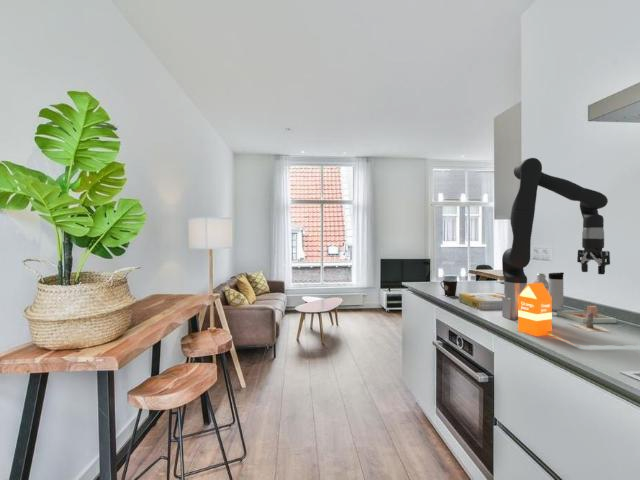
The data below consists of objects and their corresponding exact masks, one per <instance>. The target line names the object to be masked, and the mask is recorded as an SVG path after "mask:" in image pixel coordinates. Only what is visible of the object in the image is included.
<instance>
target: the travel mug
mask: <svg viewBox="0 0 640 480" xmlns="http://www.w3.org/2000/svg"><path fill="white" fill-rule="evenodd" d="M564 275H565V273H564V272H550V273H548V280H547V282H548V283H549V289H548V293H549V294H550V296H551V297H552V312H556V313H557V311H564Z"/></svg>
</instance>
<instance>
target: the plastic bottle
mask: <svg viewBox="0 0 640 480" xmlns="http://www.w3.org/2000/svg"><path fill="white" fill-rule="evenodd" d="M546 276H547V275H546V273H536V279H535V281H534V282H533V283H543V285H544V287H545V288H546V290H547V291H548V289H549V283H548V280H547V277H546Z"/></svg>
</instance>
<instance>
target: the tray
mask: <svg viewBox="0 0 640 480" xmlns="http://www.w3.org/2000/svg"><path fill="white" fill-rule="evenodd" d="M570 314H586V315H587V310H563V311H557V312H556V316H560V317H562V318H567V319H569V320H571V321H572V320H573V321H575V322H578V323H580V324H587V318H580V317H577V316H574V315H570ZM616 323H617V318H616V317H615V318H614V317H611V316H607V315H604V314H600V313H598V318H593V324H616Z"/></svg>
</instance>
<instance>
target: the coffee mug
mask: <svg viewBox="0 0 640 480" xmlns="http://www.w3.org/2000/svg"><path fill="white" fill-rule="evenodd" d="M442 283H443V285H442ZM457 284H458V280H455V279H443V280H442V281H440V286H441V288H442V289H443V291H444V296H445V295H447V296H446V297H449V296H455V297H456V294H457Z"/></svg>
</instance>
